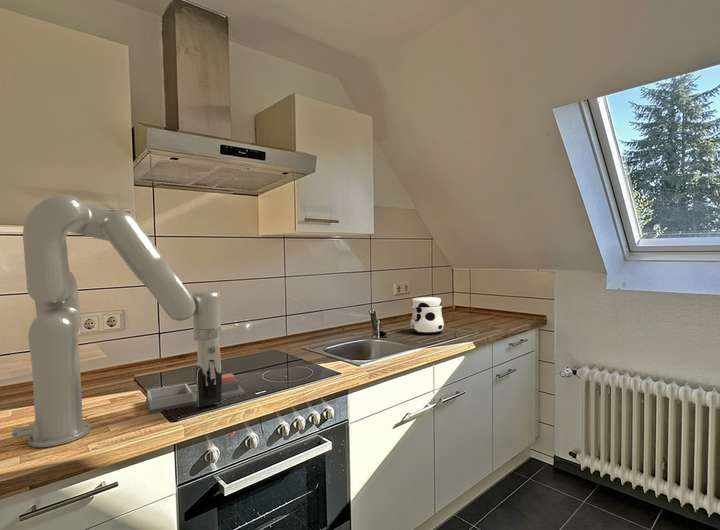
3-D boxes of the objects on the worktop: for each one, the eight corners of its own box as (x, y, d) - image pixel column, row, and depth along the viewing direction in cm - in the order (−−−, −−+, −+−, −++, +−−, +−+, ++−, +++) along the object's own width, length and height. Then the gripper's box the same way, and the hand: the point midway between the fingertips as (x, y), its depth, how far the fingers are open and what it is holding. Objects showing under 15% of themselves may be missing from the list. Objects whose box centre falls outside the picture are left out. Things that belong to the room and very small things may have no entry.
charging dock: (149, 414, 116) (148, 401, 115) (146, 401, 126) (145, 390, 126) (245, 394, 130) (244, 383, 129) (235, 384, 140) (234, 374, 140)
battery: (218, 398, 124) (217, 361, 124) (222, 402, 121) (222, 363, 121) (194, 404, 119) (193, 365, 119) (198, 408, 116) (198, 367, 116)
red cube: (222, 391, 130) (222, 378, 130) (219, 387, 133) (219, 375, 133) (235, 388, 132) (234, 376, 132) (232, 385, 135) (231, 373, 135)
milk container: (448, 330, 222) (447, 297, 221) (436, 336, 207) (435, 301, 206) (418, 328, 231) (418, 296, 230) (405, 334, 216) (404, 300, 216)
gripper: (227, 336, 114) (228, 402, 115) (214, 328, 129) (215, 386, 129) (199, 339, 111) (200, 407, 111) (189, 330, 125) (190, 390, 125)
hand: (208, 395), depth 120 cm, fingers closed on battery, 4 cm apart
